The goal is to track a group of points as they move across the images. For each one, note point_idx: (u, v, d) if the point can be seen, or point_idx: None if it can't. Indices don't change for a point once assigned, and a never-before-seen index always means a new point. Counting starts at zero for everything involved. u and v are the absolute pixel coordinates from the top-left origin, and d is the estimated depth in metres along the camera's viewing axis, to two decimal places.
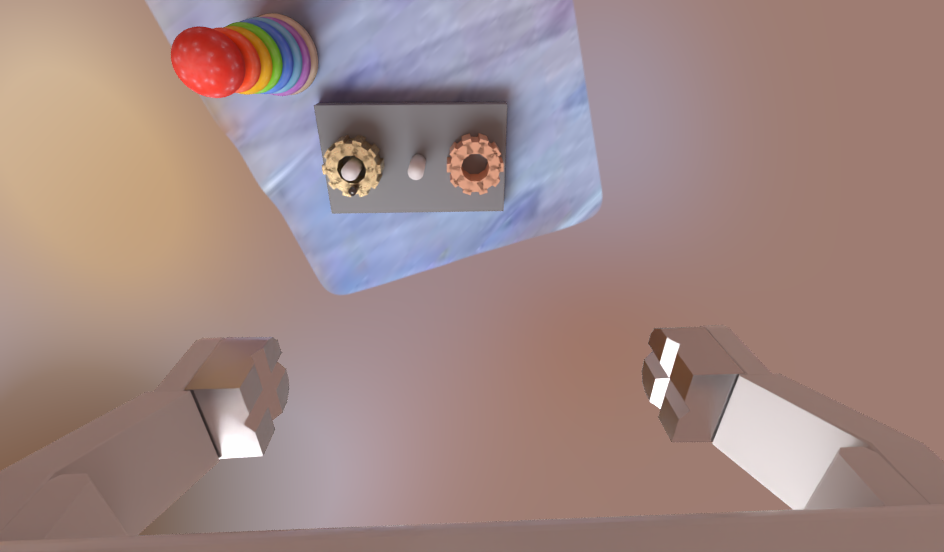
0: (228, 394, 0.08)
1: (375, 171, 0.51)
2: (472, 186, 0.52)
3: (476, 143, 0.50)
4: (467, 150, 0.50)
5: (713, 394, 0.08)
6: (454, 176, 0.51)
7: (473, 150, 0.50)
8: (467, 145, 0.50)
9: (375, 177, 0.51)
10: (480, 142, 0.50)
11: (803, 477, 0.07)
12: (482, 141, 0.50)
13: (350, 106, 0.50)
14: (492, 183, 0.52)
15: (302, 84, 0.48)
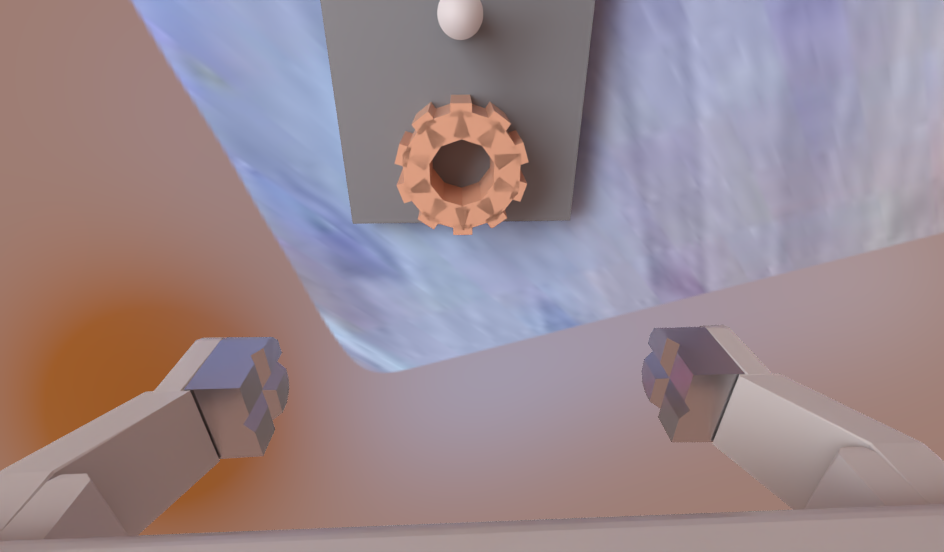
0: (228, 394, 0.08)
1: None
2: (417, 168, 0.22)
3: (517, 175, 0.22)
4: (501, 153, 0.21)
5: (713, 394, 0.08)
6: (440, 123, 0.21)
7: (502, 169, 0.22)
8: (513, 154, 0.22)
9: None
10: (519, 184, 0.22)
11: (803, 477, 0.07)
12: (521, 188, 0.22)
13: None
14: (426, 213, 0.23)
15: None
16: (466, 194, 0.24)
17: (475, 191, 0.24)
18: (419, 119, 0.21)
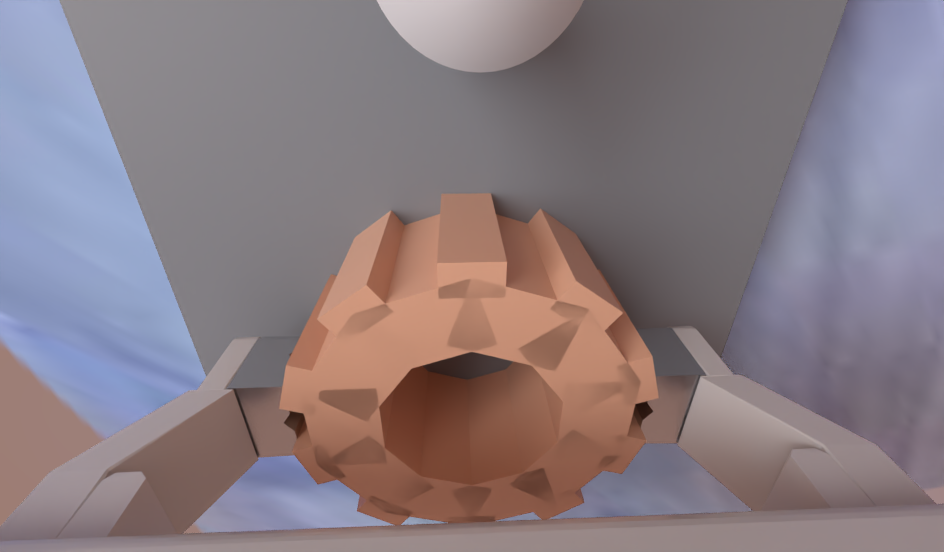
0: (270, 392, 0.08)
1: None
2: (347, 417, 0.08)
3: (624, 426, 0.08)
4: (583, 380, 0.08)
5: (675, 395, 0.08)
6: (406, 314, 0.07)
7: (583, 412, 0.08)
8: (618, 378, 0.08)
9: None
10: (624, 442, 0.08)
11: (762, 479, 0.07)
12: (627, 449, 0.08)
13: None
14: (377, 500, 0.09)
15: None
16: (479, 421, 0.10)
17: (501, 414, 0.10)
18: (340, 306, 0.07)
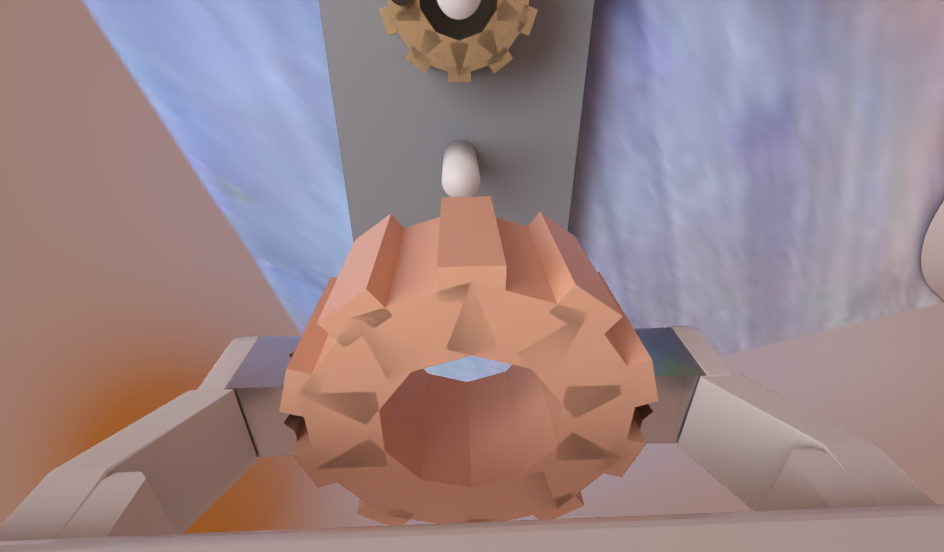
0: (270, 392, 0.08)
1: (453, 68, 0.19)
2: (347, 420, 0.08)
3: (623, 429, 0.08)
4: (583, 383, 0.08)
5: (675, 395, 0.08)
6: (406, 317, 0.07)
7: (582, 415, 0.08)
8: (618, 382, 0.08)
9: (437, 64, 0.19)
10: (624, 445, 0.08)
11: (762, 479, 0.07)
12: (627, 452, 0.08)
13: (591, 1, 0.21)
14: (377, 503, 0.09)
15: None
16: (479, 423, 0.10)
17: (501, 417, 0.10)
18: (340, 309, 0.07)
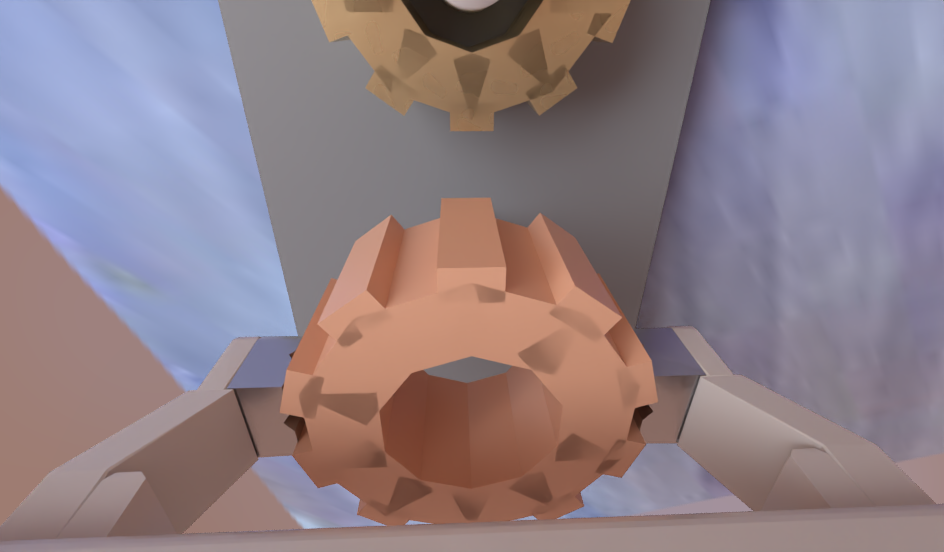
0: (270, 392, 0.08)
1: (460, 106, 0.10)
2: (347, 421, 0.08)
3: (623, 430, 0.08)
4: (583, 384, 0.08)
5: (675, 395, 0.08)
6: (406, 318, 0.07)
7: (582, 416, 0.08)
8: (617, 383, 0.08)
9: (429, 99, 0.10)
10: (624, 446, 0.08)
11: (762, 479, 0.07)
12: (627, 453, 0.08)
13: None
14: (377, 503, 0.09)
15: None
16: (479, 424, 0.10)
17: (501, 418, 0.10)
18: (341, 311, 0.07)
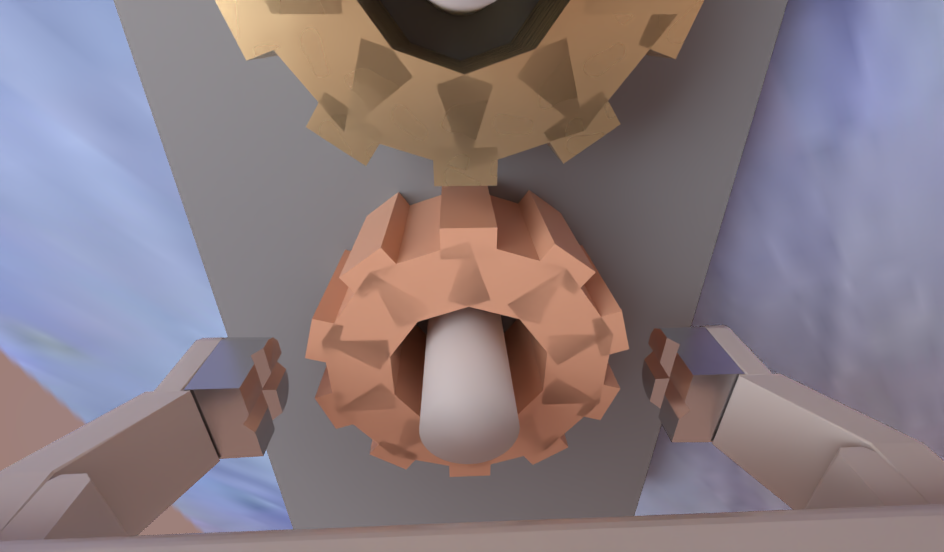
0: (228, 394, 0.08)
1: (449, 151, 0.07)
2: (363, 366, 0.09)
3: (600, 375, 0.09)
4: (565, 333, 0.09)
5: (713, 394, 0.08)
6: (414, 273, 0.08)
7: (564, 362, 0.09)
8: (593, 332, 0.09)
9: (403, 142, 0.07)
10: (601, 389, 0.10)
11: (803, 477, 0.07)
12: (604, 397, 0.10)
13: None
14: (388, 444, 0.10)
15: None
16: None
17: None
18: (359, 266, 0.08)
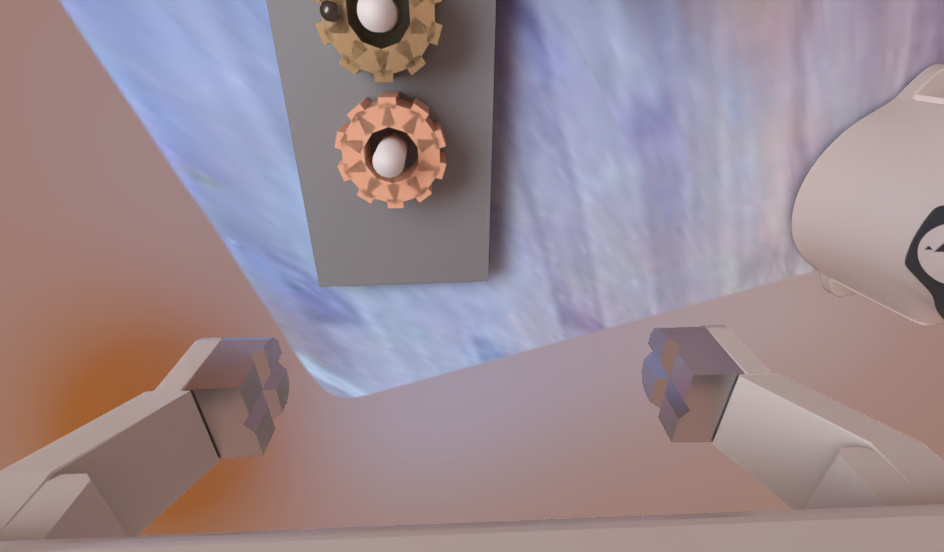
0: (228, 394, 0.08)
1: (378, 71, 0.24)
2: (354, 151, 0.26)
3: (437, 157, 0.27)
4: (422, 139, 0.26)
5: (713, 394, 0.08)
6: (370, 113, 0.25)
7: (424, 151, 0.27)
8: (433, 139, 0.26)
9: (365, 68, 0.24)
10: (439, 164, 0.27)
11: (803, 477, 0.07)
12: (441, 168, 0.27)
13: (493, 17, 0.26)
14: (363, 189, 0.27)
15: None
16: (399, 174, 0.29)
17: (406, 172, 0.29)
18: (353, 110, 0.25)
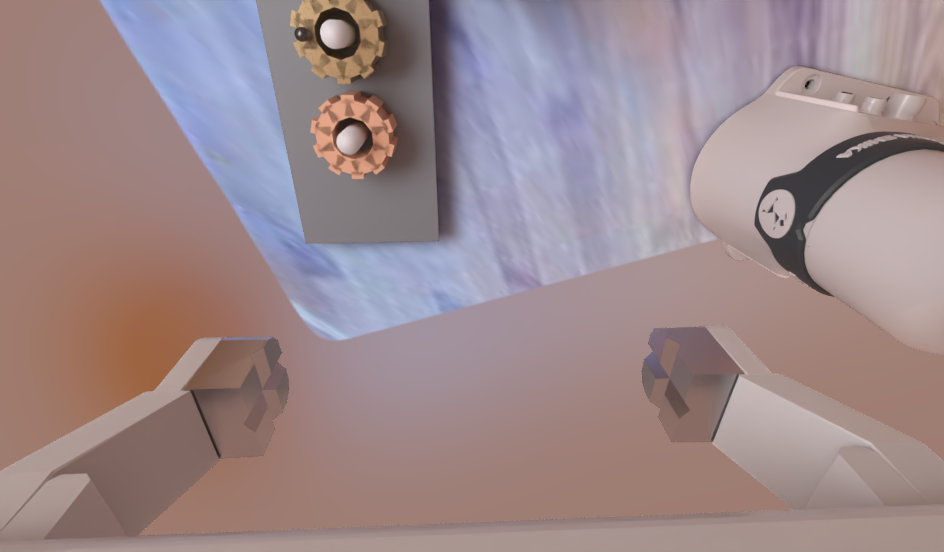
0: (228, 394, 0.08)
1: (339, 75, 0.33)
2: (325, 135, 0.35)
3: (387, 140, 0.36)
4: (375, 126, 0.35)
5: (713, 394, 0.08)
6: (335, 107, 0.34)
7: (377, 135, 0.35)
8: (383, 126, 0.35)
9: (330, 74, 0.33)
10: (389, 145, 0.36)
11: (803, 477, 0.07)
12: (390, 148, 0.36)
13: (428, 34, 0.35)
14: (333, 164, 0.36)
15: None
16: (361, 154, 0.38)
17: (367, 152, 0.38)
18: (322, 104, 0.34)
